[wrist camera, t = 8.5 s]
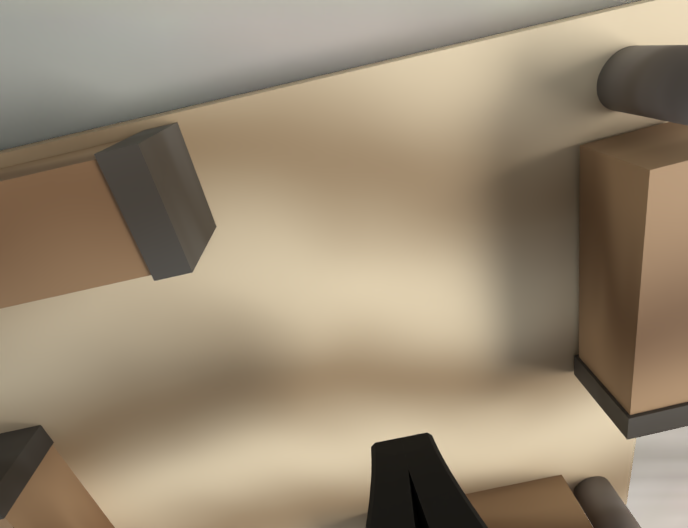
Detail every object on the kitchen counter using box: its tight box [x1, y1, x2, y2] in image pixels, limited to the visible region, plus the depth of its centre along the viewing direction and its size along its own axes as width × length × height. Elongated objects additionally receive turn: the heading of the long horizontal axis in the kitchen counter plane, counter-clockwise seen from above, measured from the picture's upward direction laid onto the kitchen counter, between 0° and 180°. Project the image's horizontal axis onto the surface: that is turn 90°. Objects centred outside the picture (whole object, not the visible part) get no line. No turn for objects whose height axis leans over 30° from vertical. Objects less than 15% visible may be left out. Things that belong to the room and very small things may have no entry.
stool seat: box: [0, 0, 688, 528], centre depth 13 cm, size 18×22×4 cm
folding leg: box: [574, 122, 688, 440], centre depth 11 cm, size 8×3×3 cm, turn 14°
